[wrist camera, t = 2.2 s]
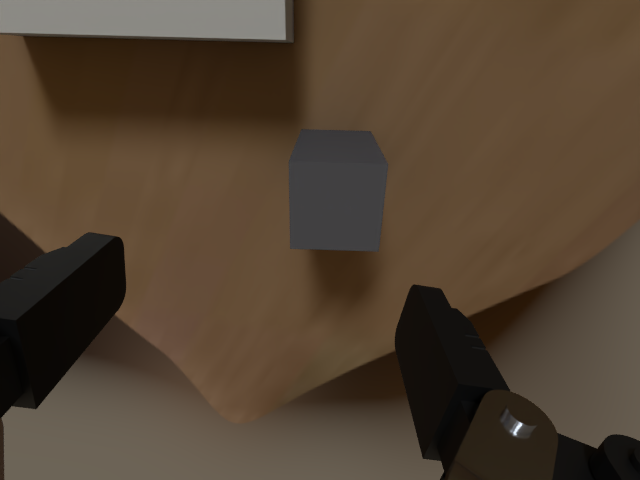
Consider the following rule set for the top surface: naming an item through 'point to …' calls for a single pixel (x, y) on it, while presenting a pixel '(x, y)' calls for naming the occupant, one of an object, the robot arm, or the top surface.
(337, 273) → the top surface
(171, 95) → the top surface
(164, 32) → the socket
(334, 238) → the plug
